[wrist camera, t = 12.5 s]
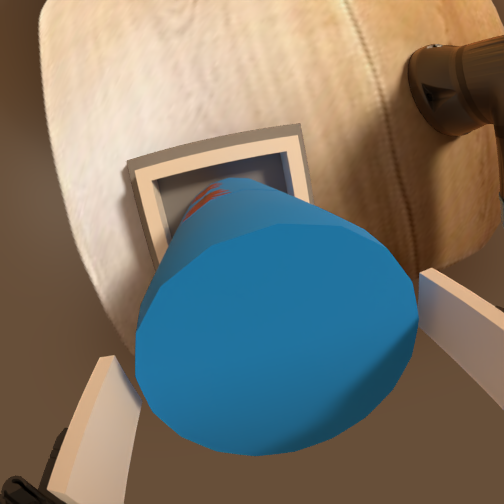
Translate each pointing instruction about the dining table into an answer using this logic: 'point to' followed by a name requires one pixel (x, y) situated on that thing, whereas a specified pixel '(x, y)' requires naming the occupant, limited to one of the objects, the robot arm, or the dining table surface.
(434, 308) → the robot arm
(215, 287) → the thermos
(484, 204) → the dining table surface
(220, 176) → the holder
